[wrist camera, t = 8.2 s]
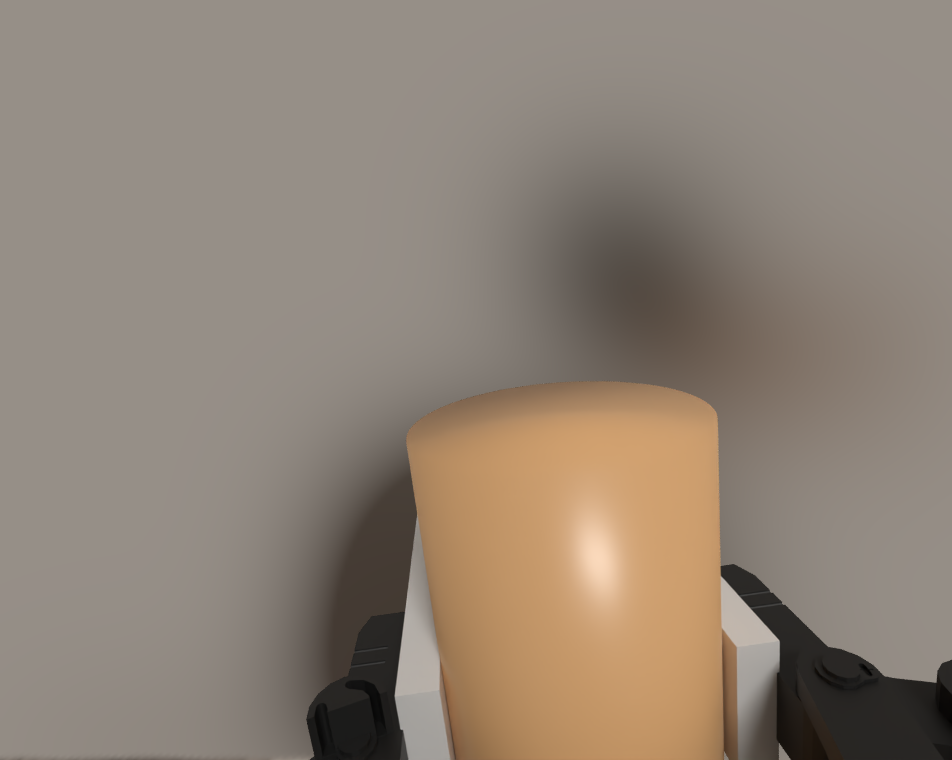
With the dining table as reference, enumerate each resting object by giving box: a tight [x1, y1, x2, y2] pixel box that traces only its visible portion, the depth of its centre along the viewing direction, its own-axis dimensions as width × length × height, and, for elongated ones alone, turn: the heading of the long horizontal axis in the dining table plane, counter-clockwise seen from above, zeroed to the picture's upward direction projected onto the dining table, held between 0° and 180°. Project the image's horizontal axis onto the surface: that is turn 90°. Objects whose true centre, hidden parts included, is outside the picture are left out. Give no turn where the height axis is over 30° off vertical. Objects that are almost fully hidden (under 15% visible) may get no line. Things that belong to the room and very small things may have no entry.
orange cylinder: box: [406, 381, 724, 760], centre depth 10 cm, size 5×5×13 cm
